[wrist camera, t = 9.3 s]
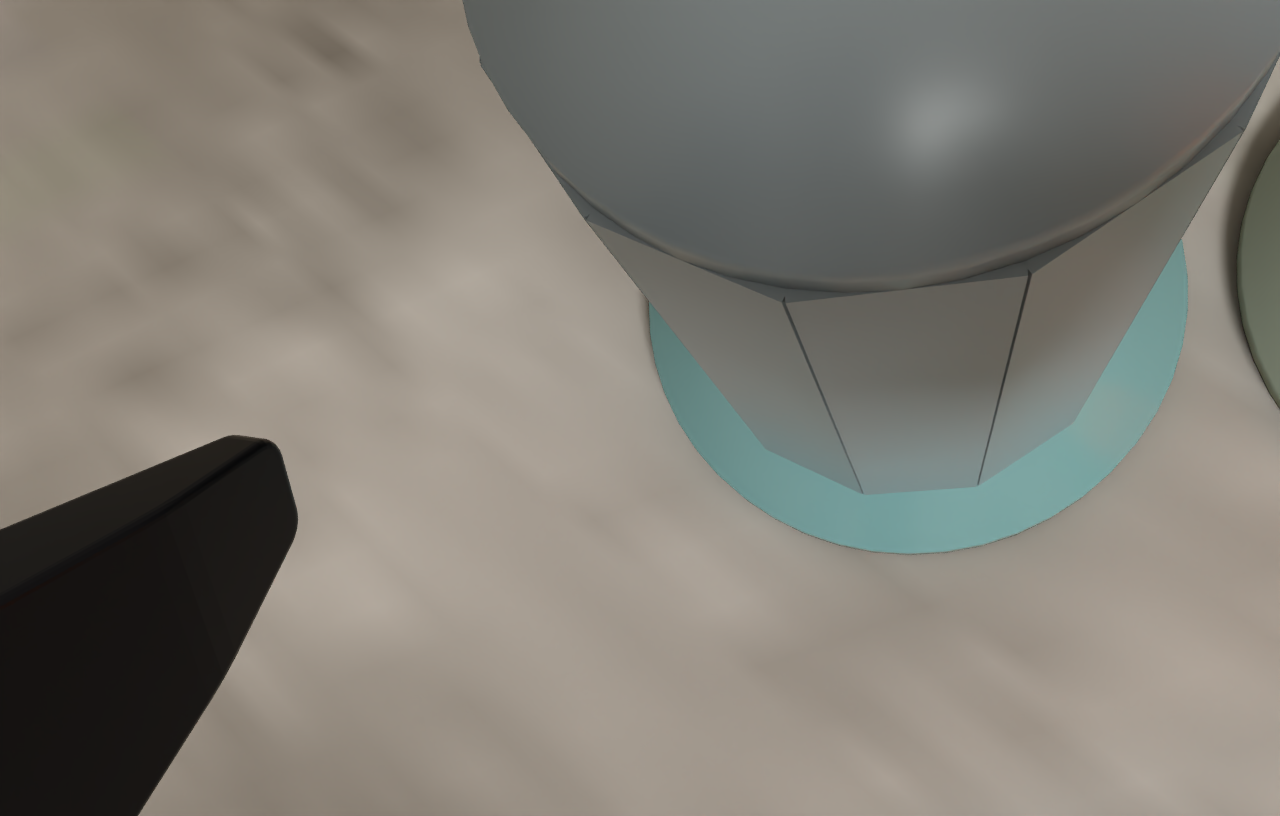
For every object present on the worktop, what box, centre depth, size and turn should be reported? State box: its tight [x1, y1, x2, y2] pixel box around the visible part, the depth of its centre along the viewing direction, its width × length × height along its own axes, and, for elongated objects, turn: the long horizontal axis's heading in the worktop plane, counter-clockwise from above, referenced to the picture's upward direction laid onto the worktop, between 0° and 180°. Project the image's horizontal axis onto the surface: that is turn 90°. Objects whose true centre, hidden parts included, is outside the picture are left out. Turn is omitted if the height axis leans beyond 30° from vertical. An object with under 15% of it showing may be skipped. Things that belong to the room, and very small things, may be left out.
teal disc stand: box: [649, 239, 1188, 555], centre depth 20 cm, size 10×10×4 cm
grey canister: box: [463, 0, 1280, 495], centre depth 16 cm, size 8×8×12 cm
